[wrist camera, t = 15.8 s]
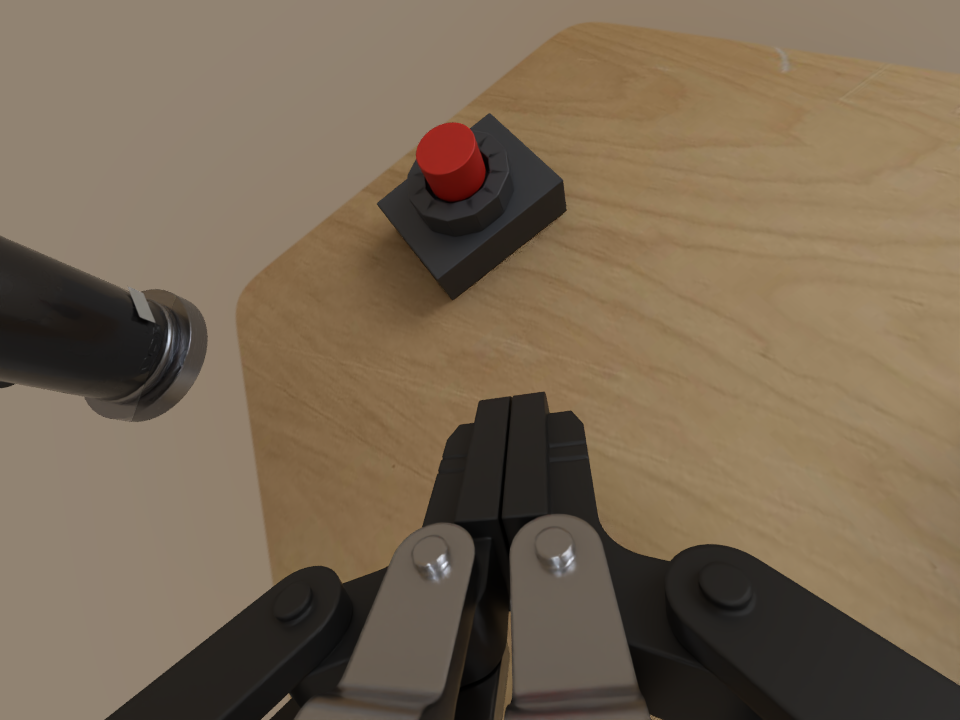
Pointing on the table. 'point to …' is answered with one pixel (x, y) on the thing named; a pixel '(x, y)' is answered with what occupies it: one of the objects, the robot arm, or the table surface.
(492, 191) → the button block
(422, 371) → the table surface
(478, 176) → the button
